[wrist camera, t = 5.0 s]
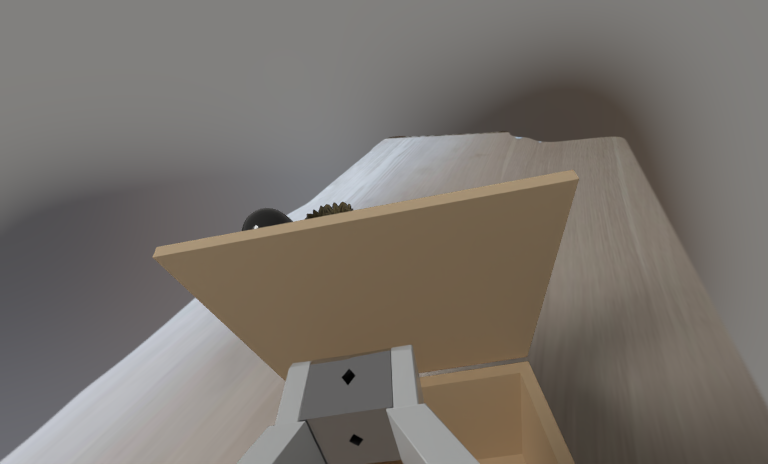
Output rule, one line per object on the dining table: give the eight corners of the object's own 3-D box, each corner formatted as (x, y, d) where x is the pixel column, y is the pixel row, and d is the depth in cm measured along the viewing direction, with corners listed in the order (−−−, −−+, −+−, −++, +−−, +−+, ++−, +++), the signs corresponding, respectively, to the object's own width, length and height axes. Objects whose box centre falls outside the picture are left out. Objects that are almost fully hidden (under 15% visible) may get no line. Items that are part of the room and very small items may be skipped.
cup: (316, 252, 64) (302, 210, 60) (357, 239, 65) (346, 197, 61) (322, 275, 57) (307, 230, 53) (368, 260, 58) (357, 214, 55)
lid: (579, 178, 13) (572, 169, 14) (152, 257, 14) (156, 247, 15) (527, 356, 25) (524, 349, 26) (296, 391, 26) (297, 384, 27)
